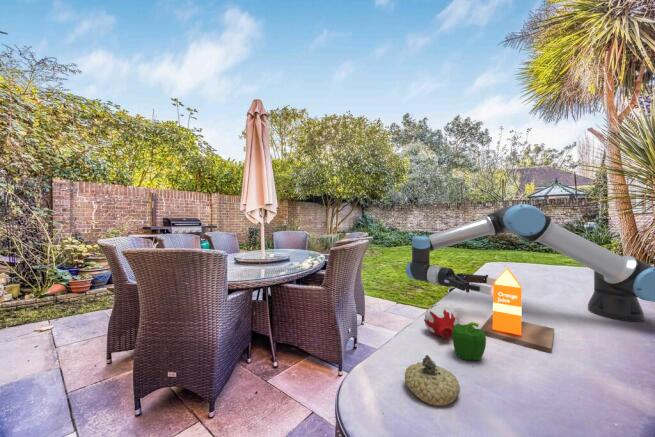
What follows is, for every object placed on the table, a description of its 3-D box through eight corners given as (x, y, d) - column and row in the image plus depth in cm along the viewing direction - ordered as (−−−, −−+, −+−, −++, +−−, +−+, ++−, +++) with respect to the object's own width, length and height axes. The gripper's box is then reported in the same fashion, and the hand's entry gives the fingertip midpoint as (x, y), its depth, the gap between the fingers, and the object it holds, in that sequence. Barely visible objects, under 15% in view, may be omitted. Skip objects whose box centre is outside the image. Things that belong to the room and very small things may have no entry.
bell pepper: (444, 352, 75) (444, 317, 75) (464, 346, 78) (464, 313, 78) (471, 368, 67) (471, 329, 67) (492, 360, 71) (492, 324, 71)
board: (554, 333, 88) (554, 328, 88) (551, 353, 74) (551, 348, 74) (491, 318, 100) (491, 314, 100) (479, 334, 87) (480, 329, 87)
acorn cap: (398, 374, 65) (398, 362, 58) (437, 357, 66) (442, 343, 59) (420, 421, 58) (423, 413, 51) (463, 401, 59) (472, 390, 52)
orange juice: (521, 328, 88) (521, 268, 89) (521, 335, 81) (522, 270, 82) (493, 322, 93) (494, 265, 94) (491, 329, 85) (492, 267, 87)
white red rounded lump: (453, 324, 93) (467, 351, 78) (420, 321, 95) (427, 347, 81) (455, 300, 92) (469, 323, 77) (421, 298, 94) (428, 319, 79)
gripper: (456, 280, 116) (512, 291, 99) (424, 290, 101) (483, 305, 84) (456, 263, 116) (512, 272, 99) (424, 270, 100) (483, 282, 84)
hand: (499, 287), depth 91 cm, fingers open, 13 cm apart
